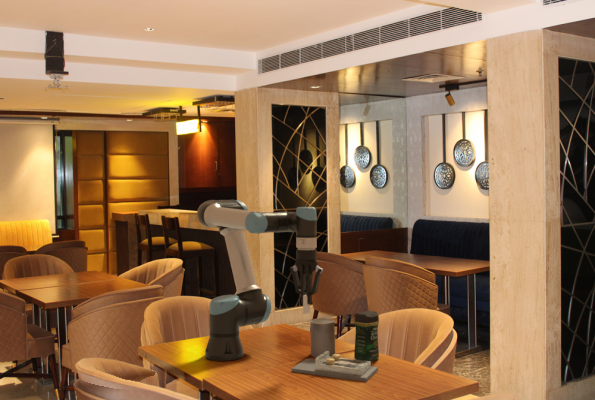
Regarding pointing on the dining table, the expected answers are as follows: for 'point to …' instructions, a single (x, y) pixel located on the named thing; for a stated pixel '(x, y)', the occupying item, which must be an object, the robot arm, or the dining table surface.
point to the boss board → (309, 368)
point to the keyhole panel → (342, 365)
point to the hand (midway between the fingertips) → (306, 312)
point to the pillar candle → (322, 336)
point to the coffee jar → (366, 336)
